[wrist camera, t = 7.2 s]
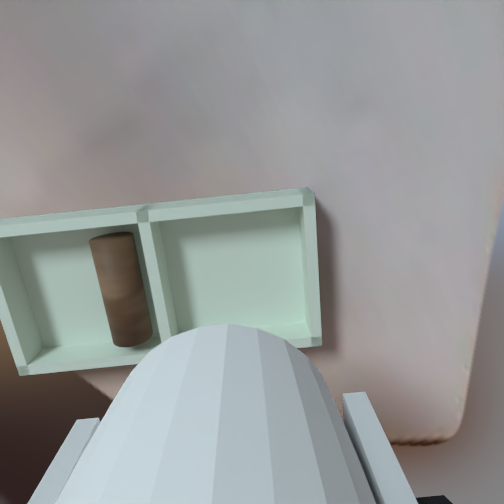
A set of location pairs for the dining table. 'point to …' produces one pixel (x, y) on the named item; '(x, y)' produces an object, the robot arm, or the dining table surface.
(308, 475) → the cup
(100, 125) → the dining table surface
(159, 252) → the caddy
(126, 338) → the dowel
